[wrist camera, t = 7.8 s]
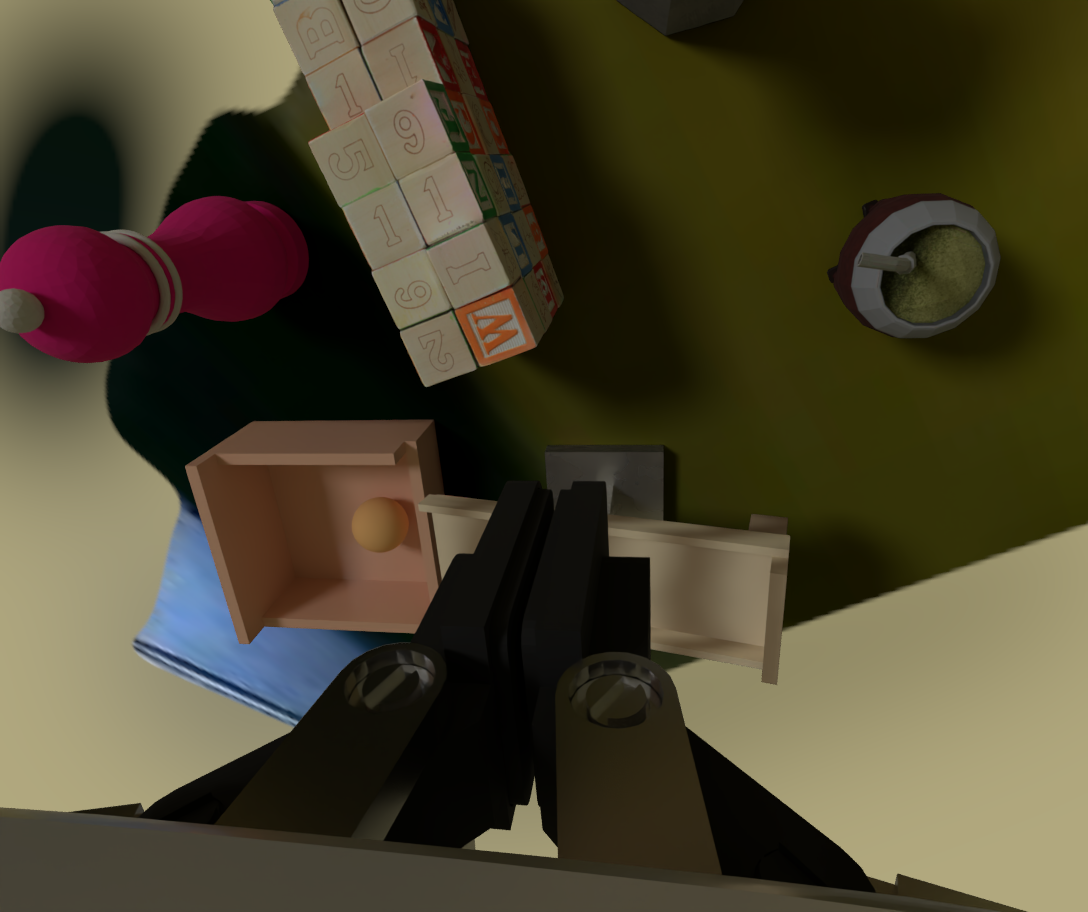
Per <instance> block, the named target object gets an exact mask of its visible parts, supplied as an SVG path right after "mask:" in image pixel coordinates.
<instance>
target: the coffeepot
mask: <svg viewBox="0 0 1088 912" xmlns="http://www.w3.org/2000/svg"><path fill="white" fill-rule="evenodd" d="M617 1H618V2H620V3H621V4H623V5H624V6H625V7H626V8H628V9H629V10H630V11H632V12H633V13H634V14H635V15H637V16H638V17H640V18H642V19H643V20H645V21H646V22H647V23H649V24H650V25H651V26H653V27H654V28H656V29H657V30H658V31H660V32H661V33H663V34H664V35H665V36H666V35H670V34H673V33H677V32H680V31H684V30H688V29H692V28H696V27H700V26H702V25H705V24H708V23H711V22H715V21H718V20H722V19H725V18H729V17H732V16H734V15H735V13H736V12H737V10H738V8H739V7H740V5H741V4H742V2H743V1H744V0H617Z"/></svg>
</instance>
